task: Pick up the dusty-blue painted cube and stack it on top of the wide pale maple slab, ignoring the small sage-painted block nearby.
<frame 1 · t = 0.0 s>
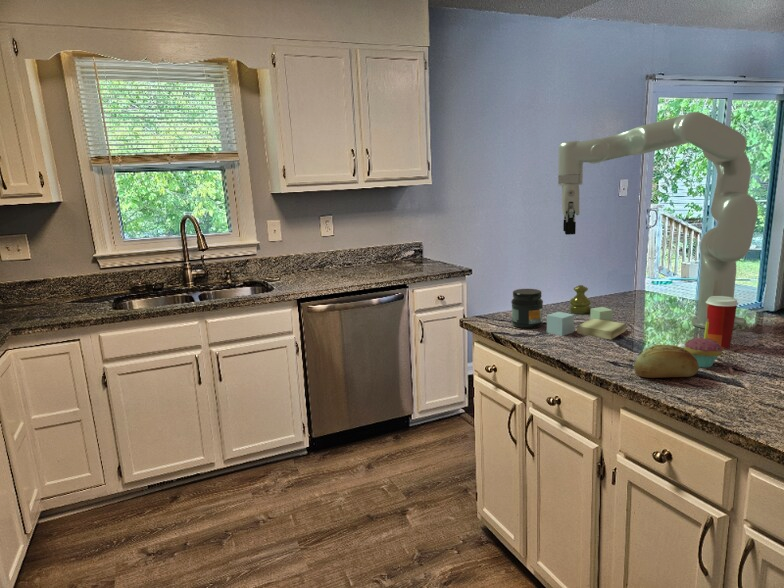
hand: (569, 232, 171), 31 cm above the worktop, tool pointing down, fingers open, 9 cm apart
cupcake: (701, 365, 134), on the worktop
supplement container: (527, 325, 178), on the worktop
olive rounded piece: (580, 312, 191), on the worktop
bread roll: (666, 377, 128), on the worktop
maple slab: (601, 333, 165), on the worktop
blue cube: (560, 332, 168), on the worktop
sage block: (601, 323, 175), on the worktop
paper cup: (717, 346, 147), on the worktop
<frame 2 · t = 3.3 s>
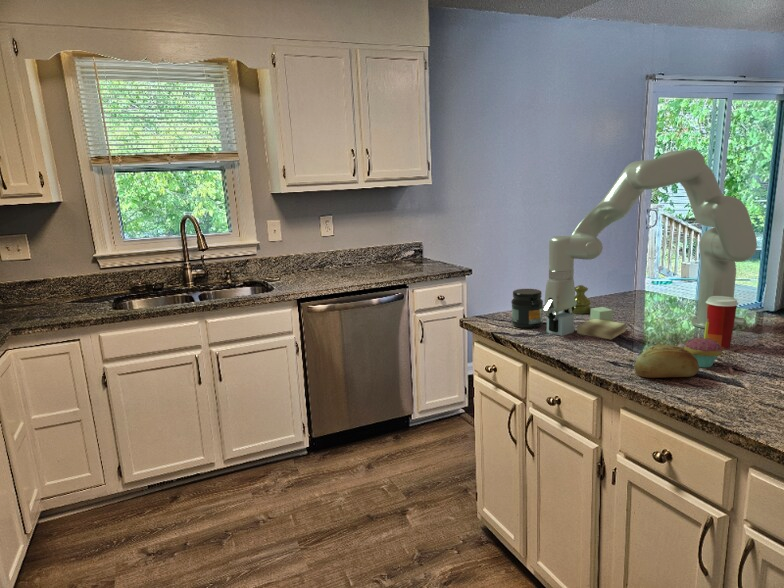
hand: (560, 328, 167), 1 cm above the worktop, tool pointing down, fingers closed on blue cube, 6 cm apart
blue cube: (560, 332, 168), on the worktop, touching gripper
everything else where it was.
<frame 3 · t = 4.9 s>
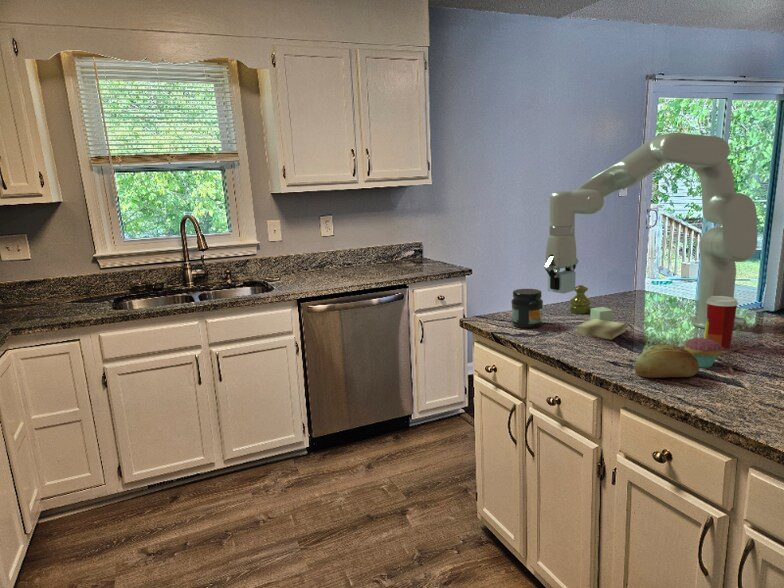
hand: (561, 287, 164), 15 cm above the worktop, tool pointing down, fingers closed on blue cube, 6 cm apart
blue cube: (561, 290, 165), point 14 cm above the worktop, touching gripper
everything else where it was.
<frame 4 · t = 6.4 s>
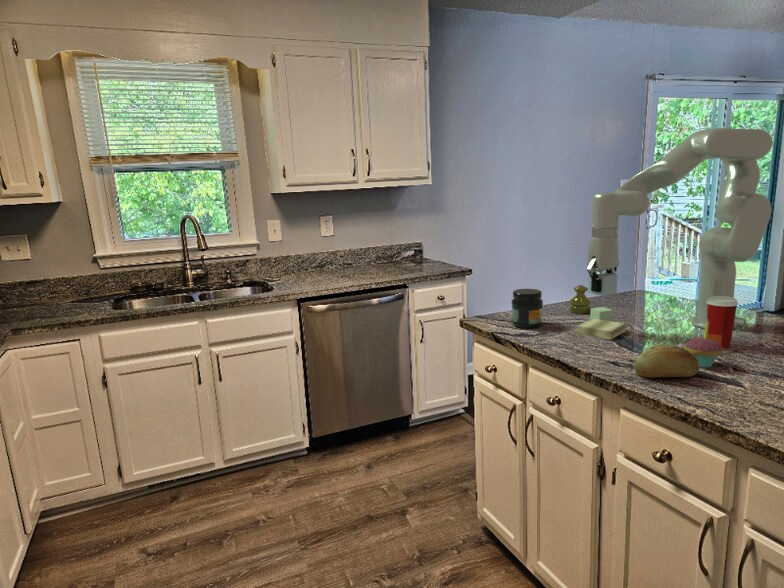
hand: (602, 289, 162), 14 cm above the worktop, tool pointing down, fingers closed on blue cube, 6 cm apart
blue cube: (602, 293, 162), point 13 cm above the worktop, touching gripper
everything else where it was.
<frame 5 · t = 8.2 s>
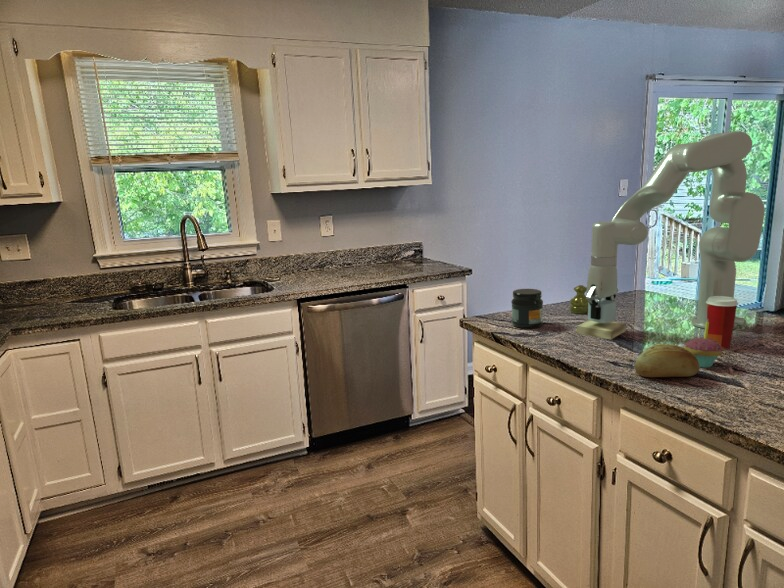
hand: (601, 316, 164), 5 cm above the worktop, tool pointing down, fingers closed on blue cube, 6 cm apart
blue cube: (601, 319, 164), point 4 cm above the worktop, touching gripper
everything else where it was.
when the fingers open (5 cm above the worktop, at t = 9.6 s): blue cube drops 1 cm, point 2 cm above the worktop.
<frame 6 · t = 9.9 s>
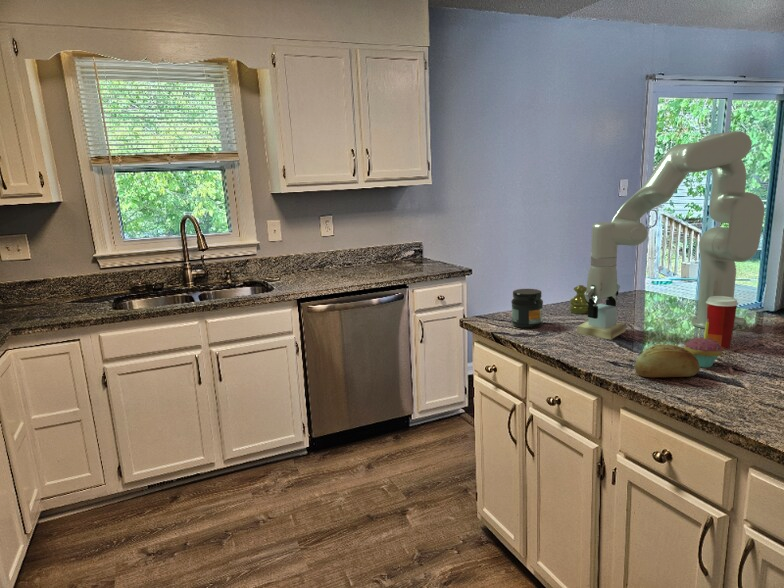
hand: (601, 314, 164), 6 cm above the worktop, tool pointing down, fingers open, 9 cm apart
blue cube: (602, 324, 165), point 2 cm above the worktop
everything else where it was.
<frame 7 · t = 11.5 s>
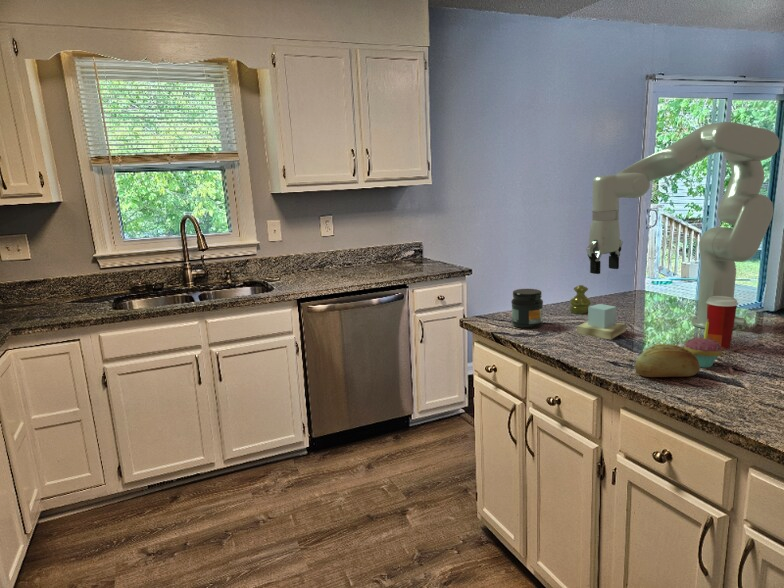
hand: (604, 271, 161), 20 cm above the worktop, tool pointing down, fingers open, 9 cm apart
maple slab: (601, 333, 165), on the worktop, touching blue cube
blue cube: (601, 324, 165), point 2 cm above the worktop, touching maple slab
everything else where it was.
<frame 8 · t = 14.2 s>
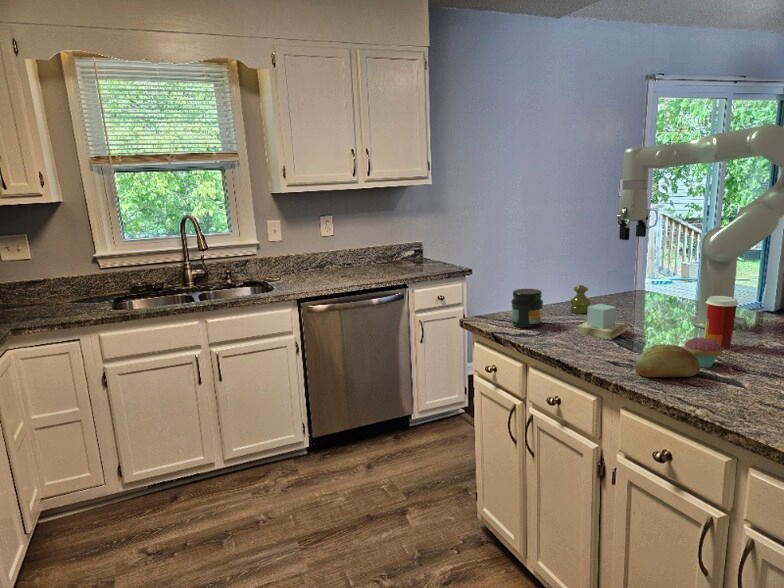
hand: (632, 238, 171), 28 cm above the worktop, tool pointing down, fingers open, 9 cm apart
maple slab: (601, 333, 165), on the worktop
blue cube: (601, 325, 164), point 2 cm above the worktop
everything else where it was.
at the end: blue cube inside the target area on the maple slab (0.3 cm from its centre), point 3.1 cm above the maple slab's base; blue cube tilted 0°; the gripper is holding nothing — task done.
